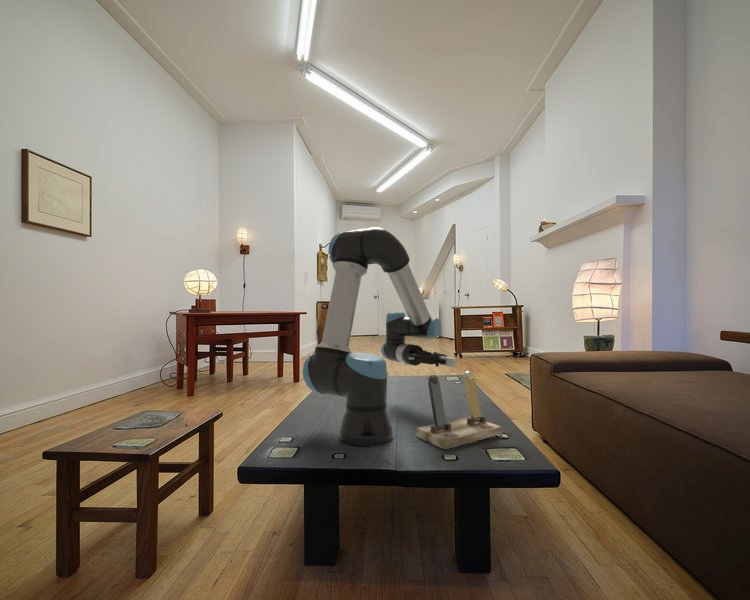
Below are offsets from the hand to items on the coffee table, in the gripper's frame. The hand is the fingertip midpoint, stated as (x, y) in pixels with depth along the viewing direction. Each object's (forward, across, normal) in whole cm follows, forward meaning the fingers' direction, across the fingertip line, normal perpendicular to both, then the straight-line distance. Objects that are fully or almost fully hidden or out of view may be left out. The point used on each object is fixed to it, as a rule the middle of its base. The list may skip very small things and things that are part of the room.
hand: (454, 362), depth 119 cm
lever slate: (+10, +15, -15) cm, 23 cm away
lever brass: (+10, +1, -15) cm, 18 cm away
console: (+10, +8, -19) cm, 23 cm away
